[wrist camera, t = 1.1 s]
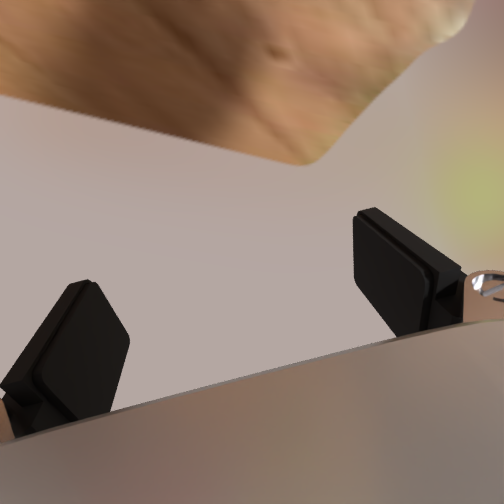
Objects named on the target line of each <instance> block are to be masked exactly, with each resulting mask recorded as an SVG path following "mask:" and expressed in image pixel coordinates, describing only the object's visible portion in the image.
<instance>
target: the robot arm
mask: <svg viewBox="0 0 504 504" xmlns="http://www.w3.org/2000/svg"><path fill="white" fill-rule="evenodd" d="M353 257H354V279H355V283H356V284H357V286H358V287H359V289H360V290H361V291H362V293H363V294H364V295H365V296H366V298H367V299H368V300H369V302H370V303H371V304H372V306H373V307H374V308H375V309H376V311H377V312H378V313H379V315H380V316H381V317H382V319H383V320H384V321H385V322H386V324H387V325H388V326H389V328H390V329H391V330H392V331H393V333H394V334H395V335H396V338H392V339H388V340H384V341H380V342H375V343H371V344H367V345H364V346H360V347H356V348H352V349H348V350H344V351H340V352H336V353H332V354H328V355H325V356H321V357H317V358H313V359H309V360H305V361H301V362H297V363H293V364H289V365H286V366H282V367H278V368H274V369H270V370H266V371H262V372H259V373H255V374H251V375H248V376H244V377H239V378H236V379H232V380H228V381H225V382H220V383H217V384H213V385H209V386H205V387H201V388H198V389H194V390H190V391H186V392H183V393H179V394H175V395H171V396H167V397H164V398H160V399H156V400H153V401H149V402H145V403H141V404H138V405H134V406H130V407H127V408H123V409H119V410H115V411H111V412H110V410H111V407H112V403H113V400H114V397H115V393H116V390H117V386H118V383H119V379H120V376H121V372H122V369H123V366H124V362H125V359H126V355H127V352H128V348H129V344H130V338H129V335H128V333H127V331H126V330H125V328H124V326H123V325H122V323H121V321H120V320H119V318H118V317H117V315H116V313H115V312H114V310H113V308H112V307H111V305H110V304H109V302H108V300H107V299H106V297H105V295H104V294H103V292H102V290H101V289H100V287H99V285H98V284H97V283H96V282H91V281H90V280H88V279H87V280H83V281H79V282H75V283H71V284H69V285H68V286H67V288H66V289H65V291H64V292H63V294H62V295H61V297H60V298H59V300H58V301H57V302H56V304H55V305H54V307H53V308H52V310H51V311H50V313H49V314H48V316H47V317H46V318H45V320H44V321H43V323H42V324H41V326H40V327H39V329H38V330H37V331H36V333H35V334H34V336H33V337H32V339H31V340H30V342H29V343H28V345H27V346H26V347H25V349H24V351H23V352H22V353H21V355H20V356H19V358H18V359H17V361H16V362H15V364H14V365H13V366H12V368H11V369H10V371H9V372H8V374H7V375H6V377H5V378H4V379H3V381H2V382H1V384H0V388H1V389H3V390H4V391H5V392H6V393H5V395H4V397H3V398H2V399H1V398H0V504H504V272H502V271H495V270H485V271H477V272H474V273H471V274H470V275H468V276H467V275H466V274H465V273H463V272H462V271H461V266H459V265H458V264H457V263H455V262H454V261H452V260H451V259H449V258H448V257H447V256H445V255H444V254H442V253H441V252H439V251H438V250H436V249H435V248H434V247H432V246H431V245H429V244H428V243H426V242H425V241H423V240H422V239H420V238H419V237H418V236H416V235H415V234H413V233H412V232H411V231H409V230H408V229H406V228H405V227H403V226H402V225H400V224H399V223H397V222H396V221H395V220H393V219H392V218H390V217H389V216H388V215H386V214H384V213H383V212H382V211H380V210H379V209H377V208H376V207H374V208H370V209H365V210H362V211H358V213H357V216H354V217H353Z"/></svg>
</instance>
